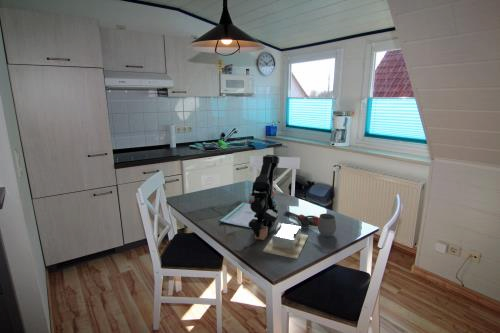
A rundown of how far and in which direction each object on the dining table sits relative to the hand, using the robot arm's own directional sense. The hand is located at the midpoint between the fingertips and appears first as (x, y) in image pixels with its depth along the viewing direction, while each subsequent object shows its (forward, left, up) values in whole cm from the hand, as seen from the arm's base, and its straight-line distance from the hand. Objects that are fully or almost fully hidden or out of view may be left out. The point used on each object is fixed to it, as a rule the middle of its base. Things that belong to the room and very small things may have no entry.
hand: (261, 233), depth 149 cm
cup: (-15, +30, -2) cm, 34 cm away
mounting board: (+2, +14, -2) cm, 14 cm away
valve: (-28, +16, -2) cm, 32 cm away
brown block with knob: (0, 0, -2) cm, 2 cm away
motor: (+1, +14, -1) cm, 14 cm away
